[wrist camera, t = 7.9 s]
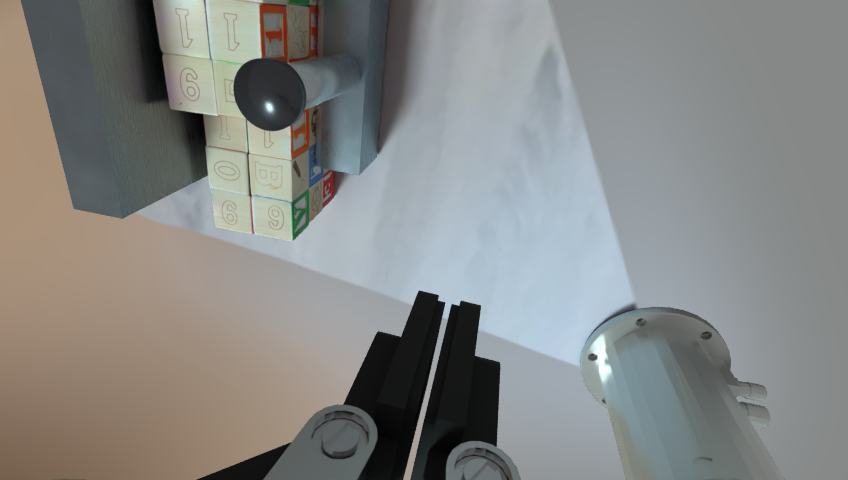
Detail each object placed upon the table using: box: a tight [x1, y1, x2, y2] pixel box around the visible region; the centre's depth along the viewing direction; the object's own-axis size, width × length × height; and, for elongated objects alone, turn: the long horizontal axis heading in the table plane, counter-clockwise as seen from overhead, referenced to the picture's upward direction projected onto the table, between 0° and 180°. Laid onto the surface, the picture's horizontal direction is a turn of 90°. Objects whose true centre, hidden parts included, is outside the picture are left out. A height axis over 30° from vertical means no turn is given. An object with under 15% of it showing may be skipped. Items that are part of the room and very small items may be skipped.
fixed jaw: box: [21, 0, 208, 218], centre depth 29 cm, size 8×18×16 cm, turn 173°
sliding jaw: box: [233, 0, 389, 175], centre depth 27 cm, size 4×14×16 cm, turn 173°
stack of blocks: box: [153, 0, 335, 241], centre depth 30 cm, size 21×6×12 cm, turn 173°
